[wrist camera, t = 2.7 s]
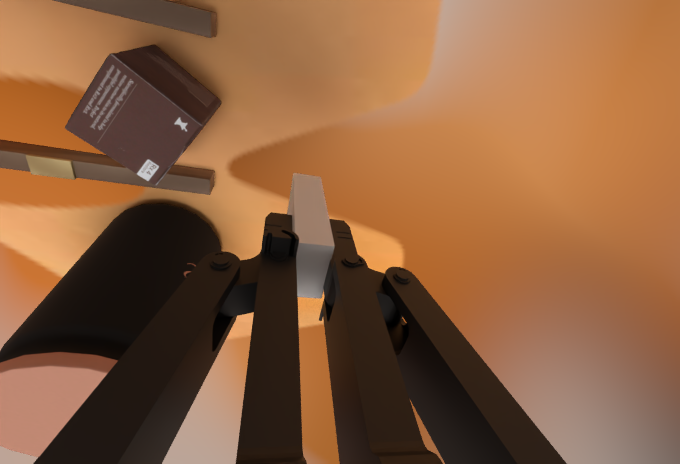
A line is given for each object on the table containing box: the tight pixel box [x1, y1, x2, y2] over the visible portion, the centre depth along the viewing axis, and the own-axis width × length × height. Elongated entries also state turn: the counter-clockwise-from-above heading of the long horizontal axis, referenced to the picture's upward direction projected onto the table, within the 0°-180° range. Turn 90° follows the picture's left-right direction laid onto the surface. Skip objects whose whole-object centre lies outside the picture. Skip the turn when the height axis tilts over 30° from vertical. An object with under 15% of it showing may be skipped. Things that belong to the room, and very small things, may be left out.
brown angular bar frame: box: [0, 0, 216, 195], centre depth 22 cm, size 17×24×4 cm
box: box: [65, 45, 221, 185], centre depth 23 cm, size 6×6×7 cm
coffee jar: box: [0, 204, 221, 457], centre depth 26 cm, size 11×11×18 cm
